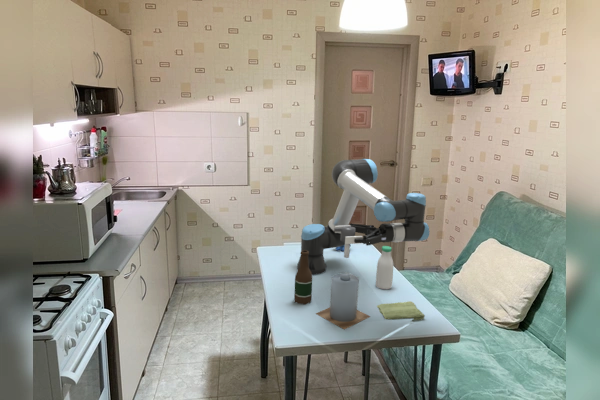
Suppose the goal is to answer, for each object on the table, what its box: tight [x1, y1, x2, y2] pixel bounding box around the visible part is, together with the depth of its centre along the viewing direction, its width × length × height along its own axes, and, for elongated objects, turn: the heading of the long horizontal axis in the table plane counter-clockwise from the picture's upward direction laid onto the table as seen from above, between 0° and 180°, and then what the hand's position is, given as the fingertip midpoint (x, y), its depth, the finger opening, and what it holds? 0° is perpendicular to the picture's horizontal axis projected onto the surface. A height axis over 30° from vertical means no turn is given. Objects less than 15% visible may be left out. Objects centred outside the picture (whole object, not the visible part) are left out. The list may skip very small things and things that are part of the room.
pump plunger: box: [334, 226, 356, 259], centre depth 166 cm, size 6×8×12 cm
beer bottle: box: [293, 250, 313, 305], centre depth 183 cm, size 8×8×24 cm
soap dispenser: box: [329, 271, 360, 322], centre depth 172 cm, size 11×11×18 cm
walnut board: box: [315, 306, 371, 330], centre depth 174 cm, size 16×16×1 cm
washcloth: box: [376, 300, 425, 321], centre depth 178 cm, size 13×18×3 cm
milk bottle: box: [375, 245, 394, 290], centre depth 202 cm, size 8×8×20 cm
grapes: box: [335, 244, 352, 252], centre depth 250 cm, size 12×7×12 cm, turn 89°
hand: (339, 234), depth 165 cm, fingers open, 13 cm apart
